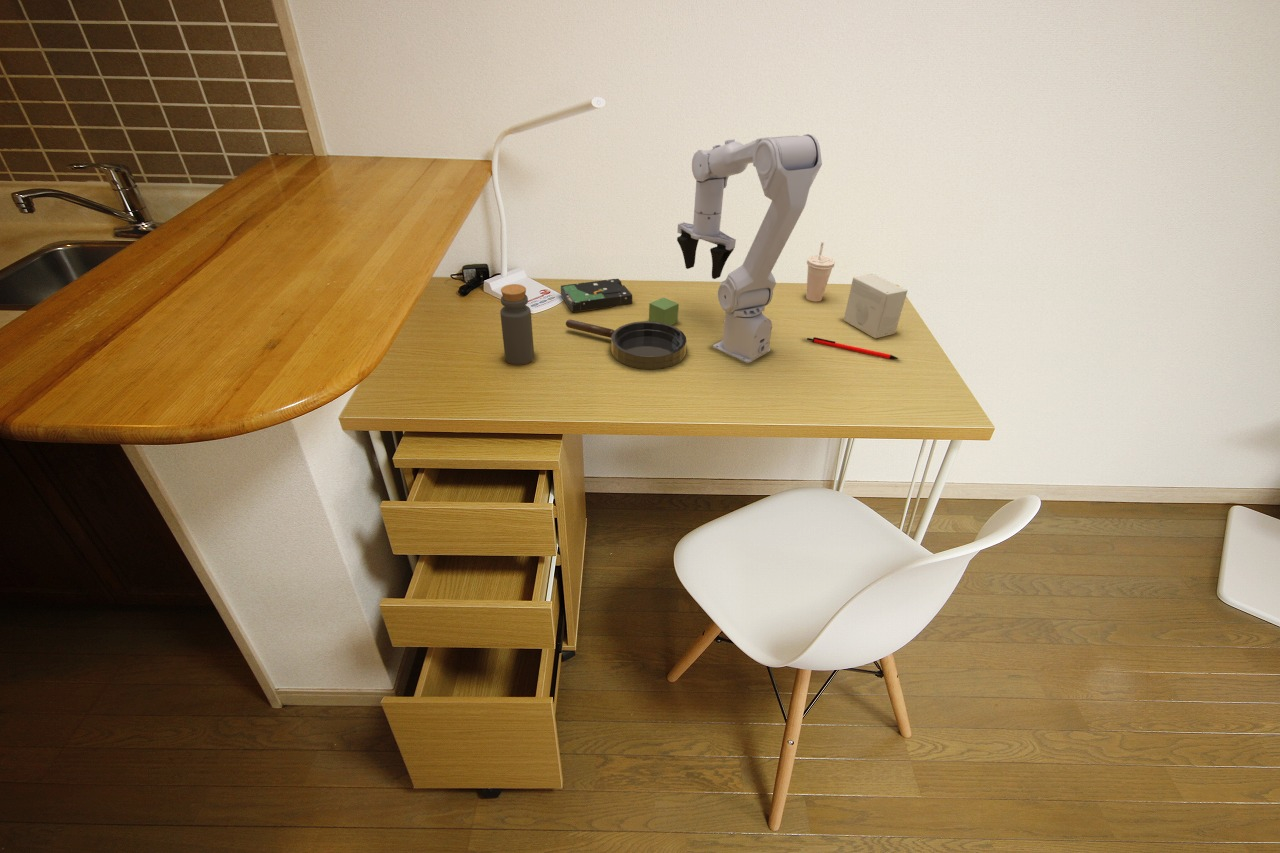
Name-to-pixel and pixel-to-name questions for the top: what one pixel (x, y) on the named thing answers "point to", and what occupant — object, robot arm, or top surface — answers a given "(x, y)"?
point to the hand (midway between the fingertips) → (702, 272)
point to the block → (663, 311)
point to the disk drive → (595, 295)
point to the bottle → (516, 325)
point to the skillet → (648, 345)
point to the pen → (851, 348)
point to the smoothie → (818, 275)
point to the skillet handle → (589, 328)
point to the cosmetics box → (874, 305)
